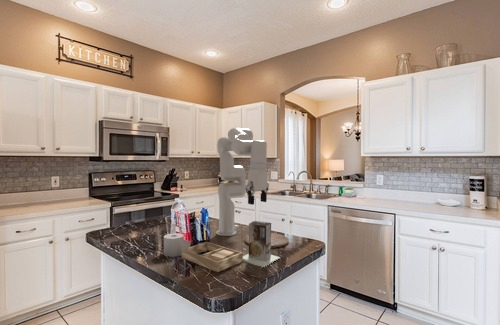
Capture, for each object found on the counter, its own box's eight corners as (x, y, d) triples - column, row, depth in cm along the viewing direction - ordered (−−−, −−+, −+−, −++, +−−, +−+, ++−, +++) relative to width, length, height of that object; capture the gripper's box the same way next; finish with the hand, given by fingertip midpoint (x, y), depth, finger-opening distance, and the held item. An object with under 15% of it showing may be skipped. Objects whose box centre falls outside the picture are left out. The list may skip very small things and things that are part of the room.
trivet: (295, 240, 158) (295, 237, 158) (275, 252, 138) (275, 248, 138) (259, 233, 172) (259, 230, 172) (235, 243, 151) (235, 239, 151)
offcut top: (223, 254, 127) (223, 249, 127) (234, 257, 123) (234, 252, 123) (210, 260, 119) (210, 255, 119) (222, 264, 116) (222, 258, 116)
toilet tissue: (193, 253, 133) (193, 236, 133) (165, 258, 126) (166, 239, 126) (187, 248, 141) (187, 231, 141) (161, 252, 134) (161, 234, 134)
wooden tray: (207, 249, 139) (207, 241, 139) (242, 261, 124) (242, 252, 124) (181, 257, 127) (182, 249, 127) (217, 272, 112) (217, 262, 112)
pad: (256, 252, 136) (256, 250, 136) (280, 259, 127) (280, 257, 127) (239, 259, 126) (239, 257, 126) (263, 267, 117) (263, 265, 117)
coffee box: (271, 256, 128) (271, 222, 127) (265, 261, 122) (266, 225, 122) (253, 253, 132) (254, 220, 131) (247, 257, 126) (248, 223, 126)
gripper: (262, 166, 136) (261, 199, 137) (240, 166, 123) (239, 204, 123) (275, 166, 132) (274, 201, 132) (253, 167, 118) (252, 206, 119)
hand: (257, 202), depth 128 cm, fingers open, 9 cm apart
